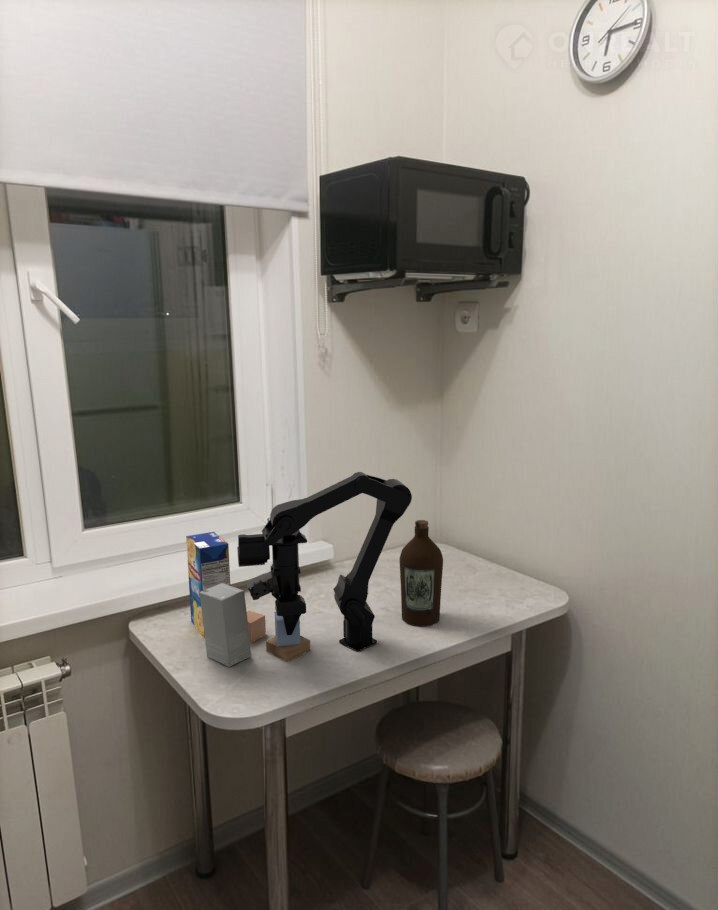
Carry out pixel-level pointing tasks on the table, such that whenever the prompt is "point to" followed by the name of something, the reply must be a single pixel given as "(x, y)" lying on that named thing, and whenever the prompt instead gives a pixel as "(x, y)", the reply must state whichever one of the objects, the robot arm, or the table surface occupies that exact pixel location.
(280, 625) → the slate block
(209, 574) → the beverage box
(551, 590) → the table surface
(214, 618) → the skincare box
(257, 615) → the terracotta block
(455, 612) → the table surface
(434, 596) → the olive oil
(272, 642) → the walnut slab
